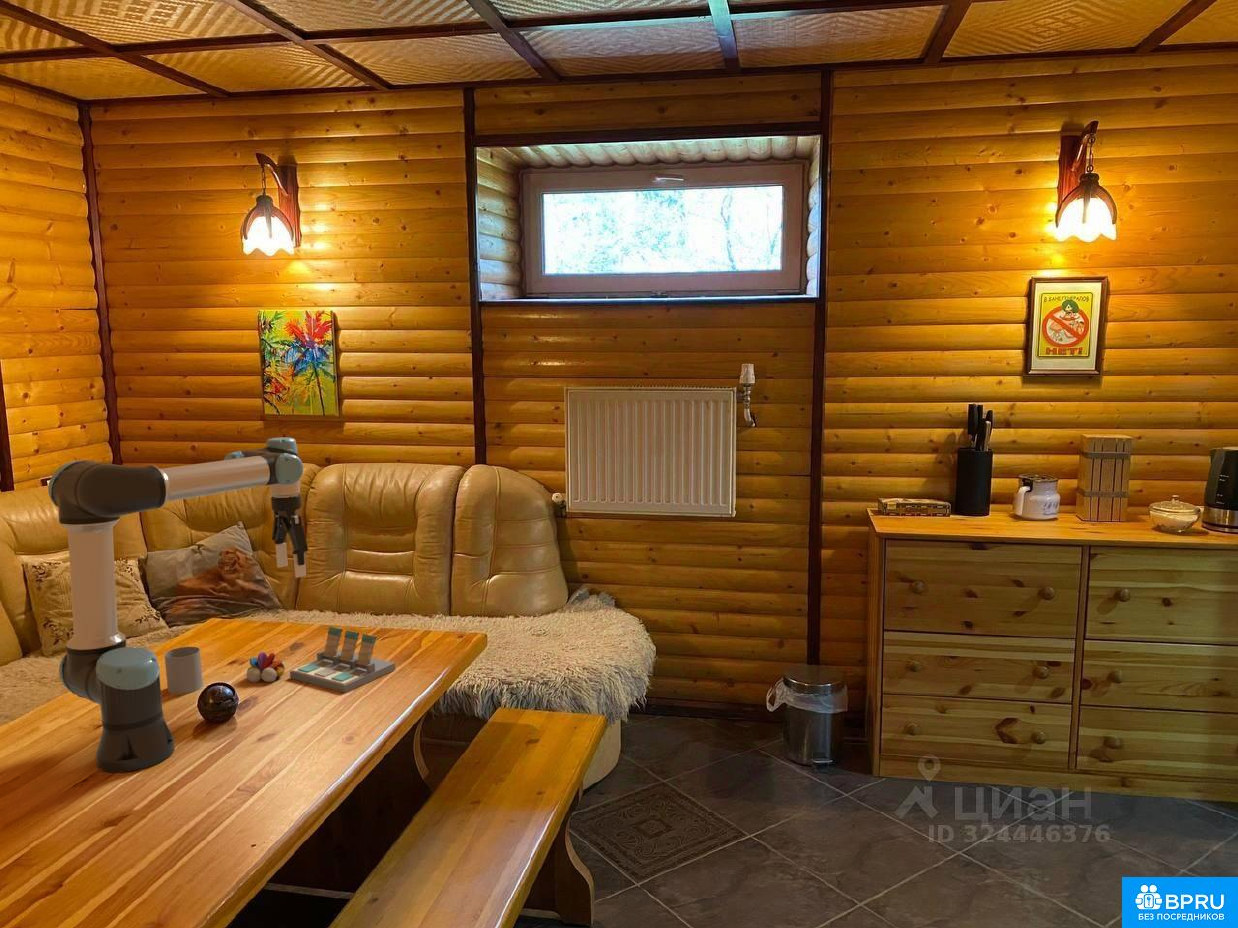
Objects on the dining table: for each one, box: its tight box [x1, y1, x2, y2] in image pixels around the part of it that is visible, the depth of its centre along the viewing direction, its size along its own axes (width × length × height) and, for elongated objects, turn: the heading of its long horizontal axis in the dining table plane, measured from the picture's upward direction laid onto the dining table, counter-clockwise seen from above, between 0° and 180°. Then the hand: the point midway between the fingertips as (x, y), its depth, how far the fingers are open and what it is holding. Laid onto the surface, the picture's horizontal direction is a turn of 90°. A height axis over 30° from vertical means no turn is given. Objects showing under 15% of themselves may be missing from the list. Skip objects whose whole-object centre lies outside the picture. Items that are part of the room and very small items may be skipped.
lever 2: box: [338, 630, 360, 665], centre depth 240 cm, size 1×4×9 cm, turn 60°
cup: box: [164, 646, 204, 696], centre depth 230 cm, size 8×8×10 cm
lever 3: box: [355, 633, 377, 669], centre depth 237 cm, size 1×4×9 cm, turn 60°
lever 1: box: [322, 626, 344, 661], centre depth 243 cm, size 1×4×9 cm, turn 60°
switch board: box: [289, 649, 396, 694], centre depth 239 cm, size 18×21×4 cm
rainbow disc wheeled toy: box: [246, 651, 286, 683], centre depth 237 cm, size 8×10×7 cm
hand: (291, 571), depth 238 cm, fingers open, 13 cm apart
